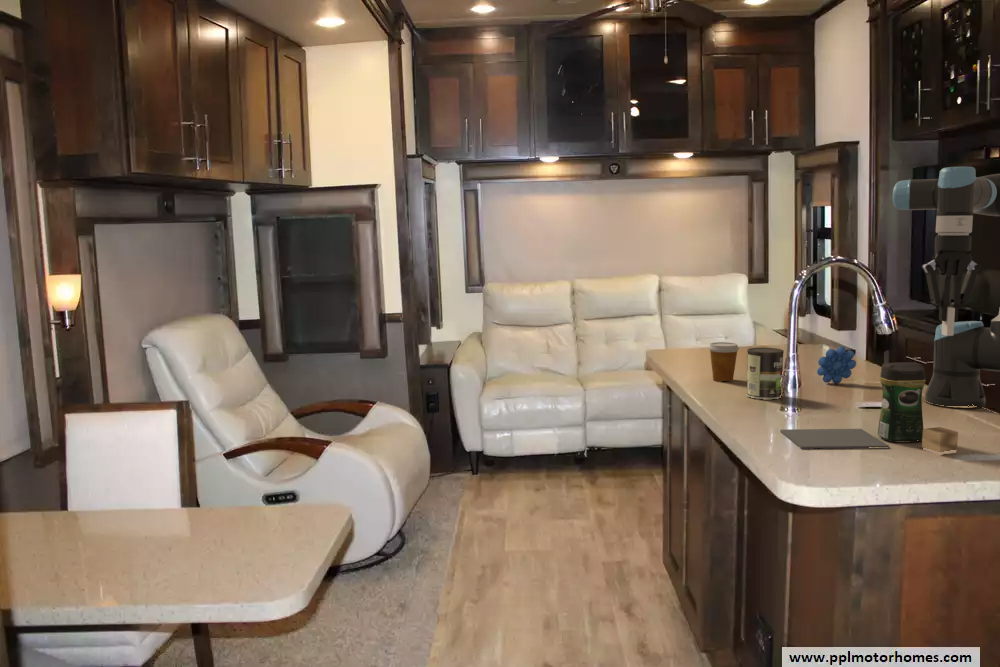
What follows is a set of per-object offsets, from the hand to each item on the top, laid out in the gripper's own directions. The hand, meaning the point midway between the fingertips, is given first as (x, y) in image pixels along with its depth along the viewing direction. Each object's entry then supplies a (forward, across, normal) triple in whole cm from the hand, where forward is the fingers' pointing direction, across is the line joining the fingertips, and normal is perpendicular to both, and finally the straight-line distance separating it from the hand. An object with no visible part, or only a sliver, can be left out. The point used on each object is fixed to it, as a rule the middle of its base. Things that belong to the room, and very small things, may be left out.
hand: (947, 334), depth 202 cm
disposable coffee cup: (+25, -36, +74) cm, 86 cm away
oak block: (+25, -6, -12) cm, 28 cm away
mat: (+25, -26, -1) cm, 36 cm away
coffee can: (+25, -29, +49) cm, 62 cm away
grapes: (+25, -2, +68) cm, 73 cm away
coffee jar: (+25, -10, -1) cm, 27 cm away
